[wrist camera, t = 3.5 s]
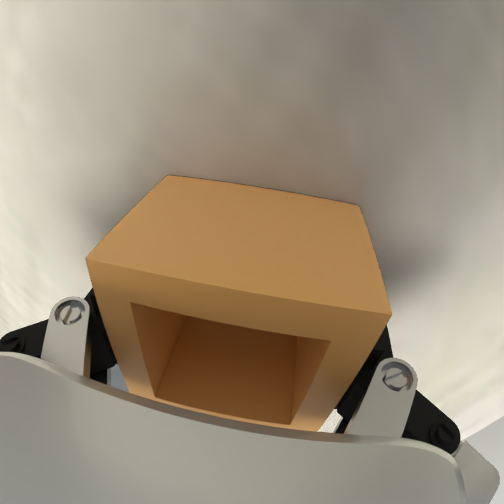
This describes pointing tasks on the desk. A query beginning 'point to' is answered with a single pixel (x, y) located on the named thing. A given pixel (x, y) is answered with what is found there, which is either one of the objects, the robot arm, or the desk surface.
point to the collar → (240, 300)
